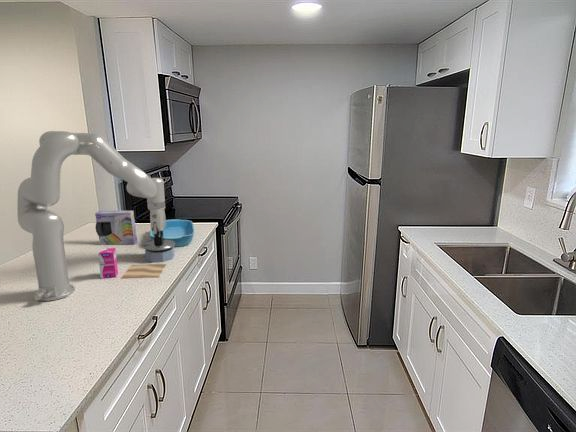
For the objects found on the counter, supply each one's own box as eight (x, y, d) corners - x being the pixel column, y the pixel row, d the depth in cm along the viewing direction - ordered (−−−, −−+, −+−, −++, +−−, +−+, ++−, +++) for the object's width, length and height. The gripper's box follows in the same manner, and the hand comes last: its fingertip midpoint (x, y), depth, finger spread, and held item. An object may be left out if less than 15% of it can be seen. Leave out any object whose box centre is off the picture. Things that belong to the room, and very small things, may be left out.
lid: (171, 250, 165) (171, 239, 164) (139, 251, 163) (138, 239, 162) (177, 240, 179) (177, 230, 177) (147, 241, 177) (147, 231, 176)
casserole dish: (196, 248, 188) (195, 235, 186) (149, 252, 181) (148, 238, 180) (192, 229, 222) (192, 218, 220) (153, 231, 216) (152, 220, 214)
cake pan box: (97, 245, 190) (93, 212, 186) (101, 242, 195) (97, 209, 191) (134, 245, 191) (131, 212, 186) (138, 242, 196) (135, 210, 191)
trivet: (158, 278, 150) (158, 277, 150) (120, 279, 149) (120, 278, 149) (166, 264, 165) (166, 263, 165) (131, 265, 163) (131, 264, 163)
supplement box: (100, 279, 148) (97, 253, 145) (103, 274, 154) (100, 248, 151) (116, 278, 150) (113, 252, 147) (118, 273, 155) (115, 247, 152)
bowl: (171, 262, 168) (170, 252, 166) (143, 263, 166) (142, 252, 165) (175, 253, 179) (175, 244, 178) (150, 254, 178) (149, 244, 177)
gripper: (160, 209, 159) (163, 249, 163) (168, 201, 175) (170, 238, 179) (142, 209, 158) (146, 249, 162) (152, 201, 174) (155, 238, 178)
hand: (159, 243), depth 171 cm, fingers closed on lid, 3 cm apart
